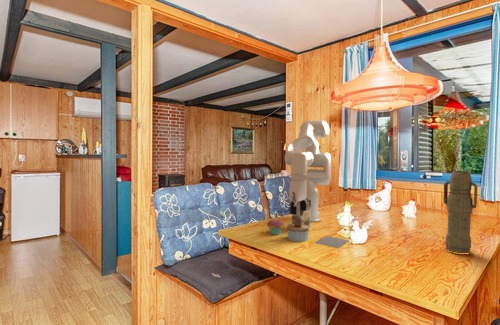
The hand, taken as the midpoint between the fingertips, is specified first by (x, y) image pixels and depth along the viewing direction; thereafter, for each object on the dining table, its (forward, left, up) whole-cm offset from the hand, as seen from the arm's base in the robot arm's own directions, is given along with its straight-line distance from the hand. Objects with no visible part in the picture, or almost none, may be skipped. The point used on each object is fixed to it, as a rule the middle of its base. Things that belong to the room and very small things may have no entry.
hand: (298, 212), depth 141 cm
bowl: (+1, 0, -13) cm, 13 cm away
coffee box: (-17, -8, -13) cm, 23 cm away
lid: (+1, 0, -8) cm, 8 cm away
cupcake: (0, -14, -13) cm, 19 cm away
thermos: (-29, +62, -13) cm, 70 cm away
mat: (-5, +15, -13) cm, 21 cm away
